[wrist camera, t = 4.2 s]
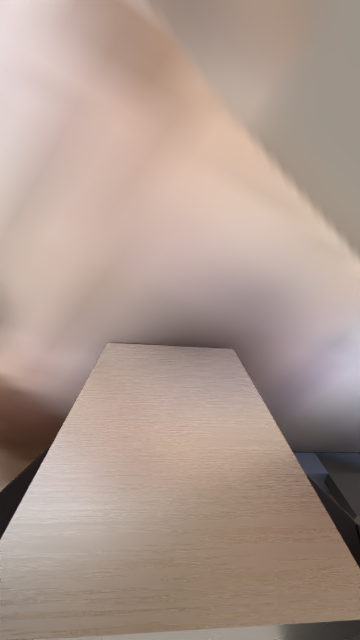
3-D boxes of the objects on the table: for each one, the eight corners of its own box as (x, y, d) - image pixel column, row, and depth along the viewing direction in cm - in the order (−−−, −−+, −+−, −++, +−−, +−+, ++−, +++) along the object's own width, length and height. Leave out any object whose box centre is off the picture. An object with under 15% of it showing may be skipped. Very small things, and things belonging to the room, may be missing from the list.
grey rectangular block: (111, 437, 9) (26, 749, 4) (107, 343, 8) (-58, 646, 2) (215, 438, 10) (283, 722, 4) (233, 349, 8) (387, 617, 2)
